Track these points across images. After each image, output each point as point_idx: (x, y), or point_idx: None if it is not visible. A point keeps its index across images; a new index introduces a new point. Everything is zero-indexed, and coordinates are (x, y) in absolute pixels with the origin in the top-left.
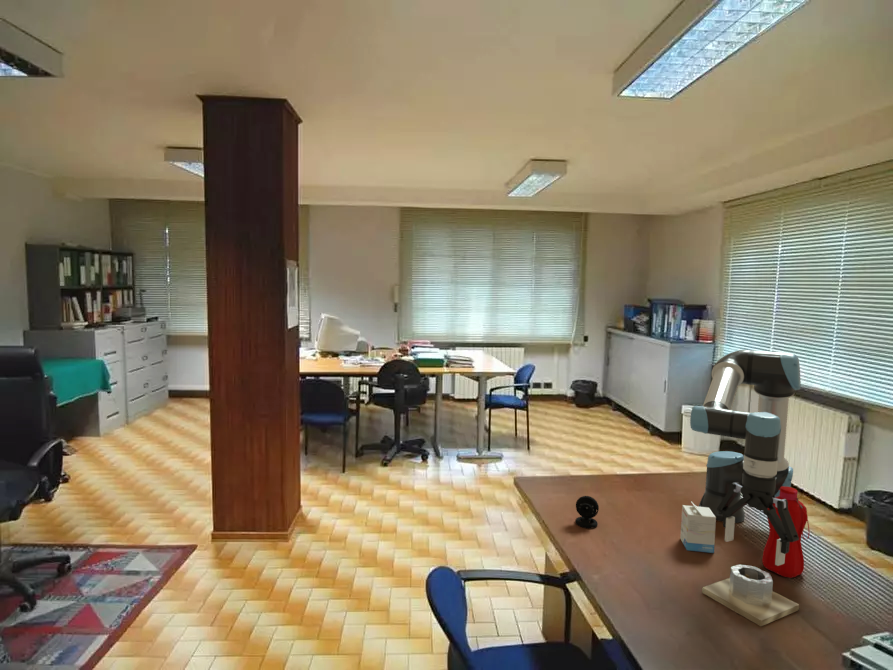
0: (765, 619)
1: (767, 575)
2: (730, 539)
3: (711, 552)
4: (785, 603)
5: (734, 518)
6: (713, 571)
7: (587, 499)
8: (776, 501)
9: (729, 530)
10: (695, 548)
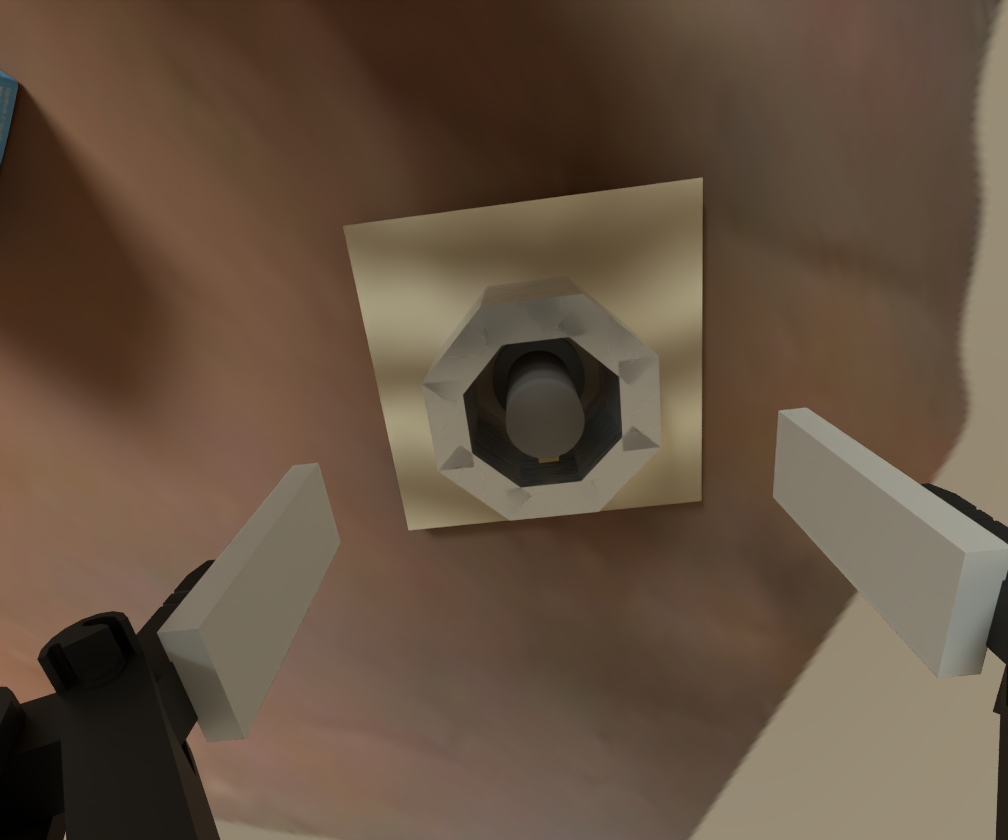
0: (700, 472)
1: (598, 330)
2: (324, 508)
3: (13, 99)
4: (662, 251)
5: (211, 622)
6: (245, 298)
7: None
8: None
9: (298, 593)
10: None
